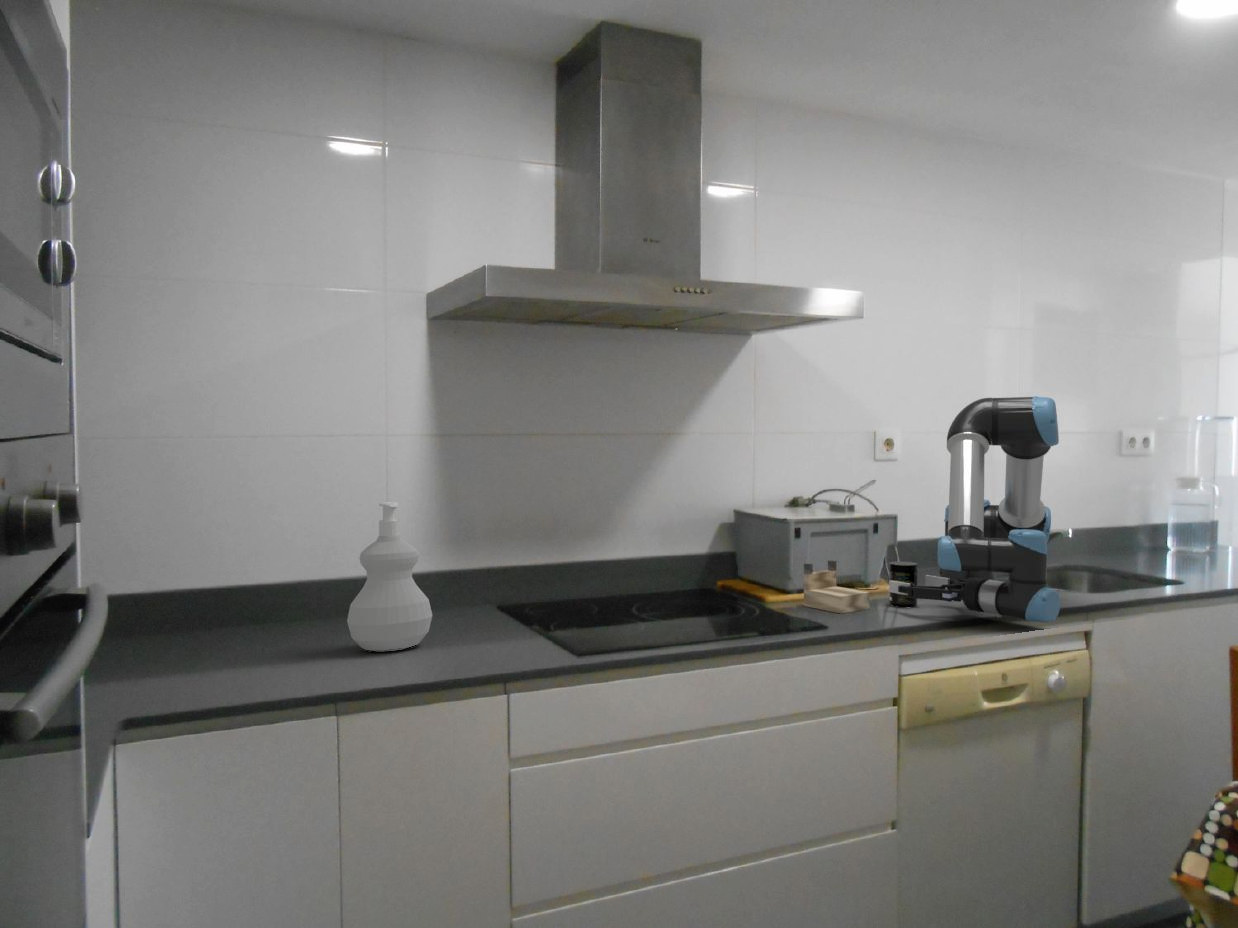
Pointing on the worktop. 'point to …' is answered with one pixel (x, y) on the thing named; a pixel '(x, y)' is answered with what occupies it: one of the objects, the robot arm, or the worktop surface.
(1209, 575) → the worktop surface
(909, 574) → the supplement container
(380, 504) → the soap bottle
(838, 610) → the holder
